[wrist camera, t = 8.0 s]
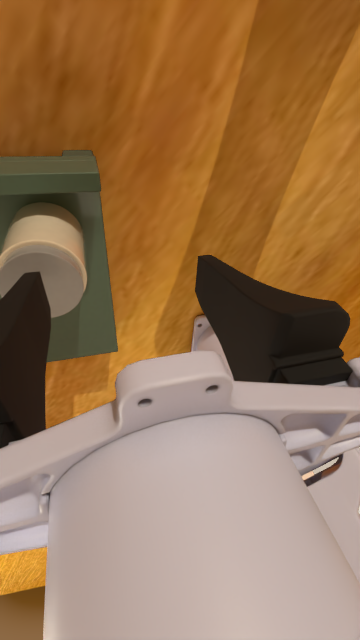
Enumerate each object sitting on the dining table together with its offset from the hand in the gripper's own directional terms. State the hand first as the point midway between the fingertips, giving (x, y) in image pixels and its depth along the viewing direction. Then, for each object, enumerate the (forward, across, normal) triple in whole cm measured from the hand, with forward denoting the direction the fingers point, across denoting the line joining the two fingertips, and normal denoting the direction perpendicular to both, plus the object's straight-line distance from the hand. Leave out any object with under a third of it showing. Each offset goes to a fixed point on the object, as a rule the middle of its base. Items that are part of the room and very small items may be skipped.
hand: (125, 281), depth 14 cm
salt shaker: (+8, +4, +1) cm, 9 cm away
